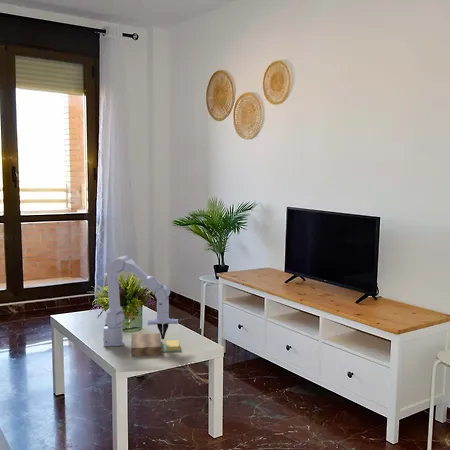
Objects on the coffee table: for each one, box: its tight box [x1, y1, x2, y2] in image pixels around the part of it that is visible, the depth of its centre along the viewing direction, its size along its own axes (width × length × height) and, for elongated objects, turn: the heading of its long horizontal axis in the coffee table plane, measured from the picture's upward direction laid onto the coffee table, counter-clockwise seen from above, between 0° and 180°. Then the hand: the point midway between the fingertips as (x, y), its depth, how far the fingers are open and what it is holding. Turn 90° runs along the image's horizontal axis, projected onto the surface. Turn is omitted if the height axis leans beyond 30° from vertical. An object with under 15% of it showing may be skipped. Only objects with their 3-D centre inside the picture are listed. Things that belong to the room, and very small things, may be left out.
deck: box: [130, 332, 163, 357], centre depth 248 cm, size 14×20×4 cm
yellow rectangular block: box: [165, 339, 179, 351], centre depth 249 cm, size 6×9×2 cm, turn 9°
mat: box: [161, 343, 182, 353], centre depth 249 cm, size 9×11×1 cm
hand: (162, 338), depth 248 cm, fingers closed
